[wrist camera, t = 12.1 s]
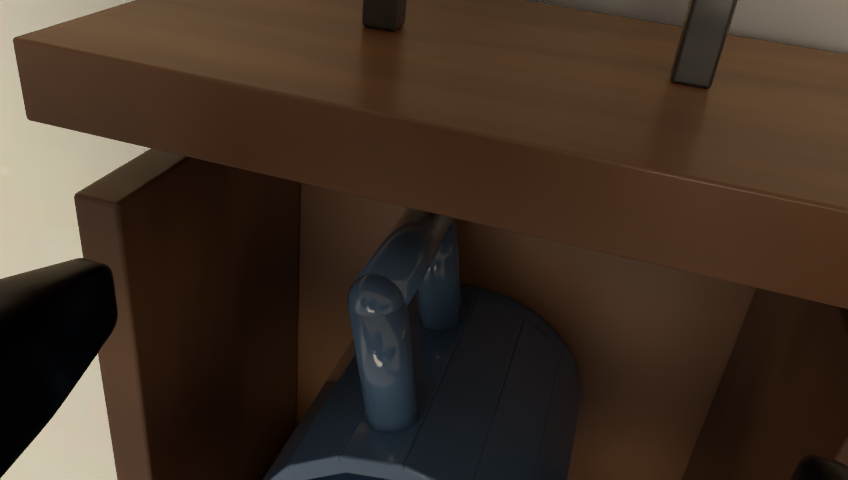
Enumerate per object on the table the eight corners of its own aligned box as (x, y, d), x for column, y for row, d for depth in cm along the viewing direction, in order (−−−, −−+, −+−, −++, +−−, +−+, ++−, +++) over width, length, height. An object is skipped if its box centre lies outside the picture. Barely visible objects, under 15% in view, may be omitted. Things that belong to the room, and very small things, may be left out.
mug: (583, 487, 20) (550, 713, 15) (371, 455, 21) (276, 647, 16) (587, 169, 16) (543, 331, 11) (324, 162, 17) (177, 297, 12)
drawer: (269, -303, 14) (-71, -417, 8) (1037, -235, 11) (1488, -320, 5) (271, 407, 23) (116, 626, 17) (702, 536, 21) (713, 853, 14)
